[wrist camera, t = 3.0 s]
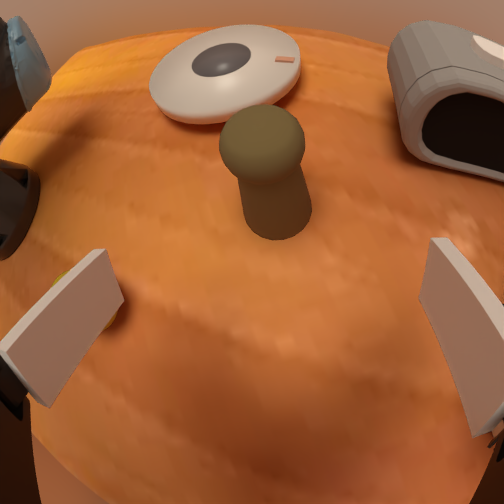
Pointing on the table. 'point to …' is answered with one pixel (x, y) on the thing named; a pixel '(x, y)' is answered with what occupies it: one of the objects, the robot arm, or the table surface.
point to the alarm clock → (450, 97)
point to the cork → (268, 169)
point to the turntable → (225, 73)
